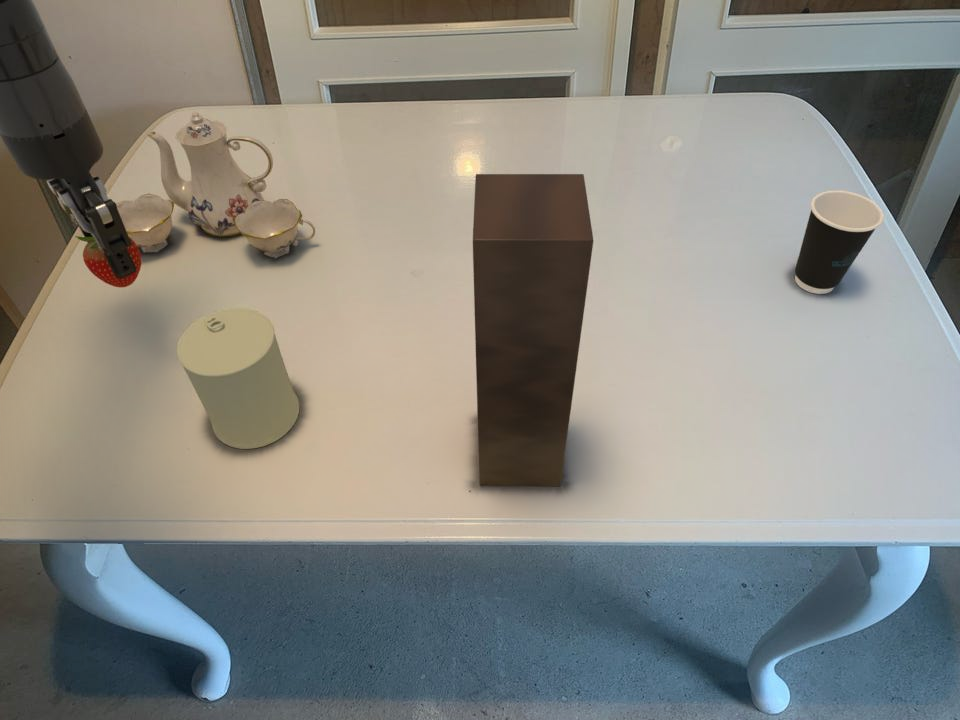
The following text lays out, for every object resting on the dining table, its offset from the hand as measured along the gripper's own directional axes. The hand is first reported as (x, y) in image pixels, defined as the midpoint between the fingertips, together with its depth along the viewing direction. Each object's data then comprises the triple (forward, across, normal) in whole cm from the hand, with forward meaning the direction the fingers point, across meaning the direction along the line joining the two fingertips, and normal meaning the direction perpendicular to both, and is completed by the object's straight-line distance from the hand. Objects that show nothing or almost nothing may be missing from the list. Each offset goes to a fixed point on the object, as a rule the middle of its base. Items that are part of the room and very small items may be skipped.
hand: (115, 261), depth 74 cm
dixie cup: (+11, +51, +65) cm, 84 cm away
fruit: (+4, 0, 0) cm, 4 cm away
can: (+12, +19, +3) cm, 23 cm away
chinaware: (+11, -12, +17) cm, 24 cm away
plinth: (+11, +43, +19) cm, 48 cm away
